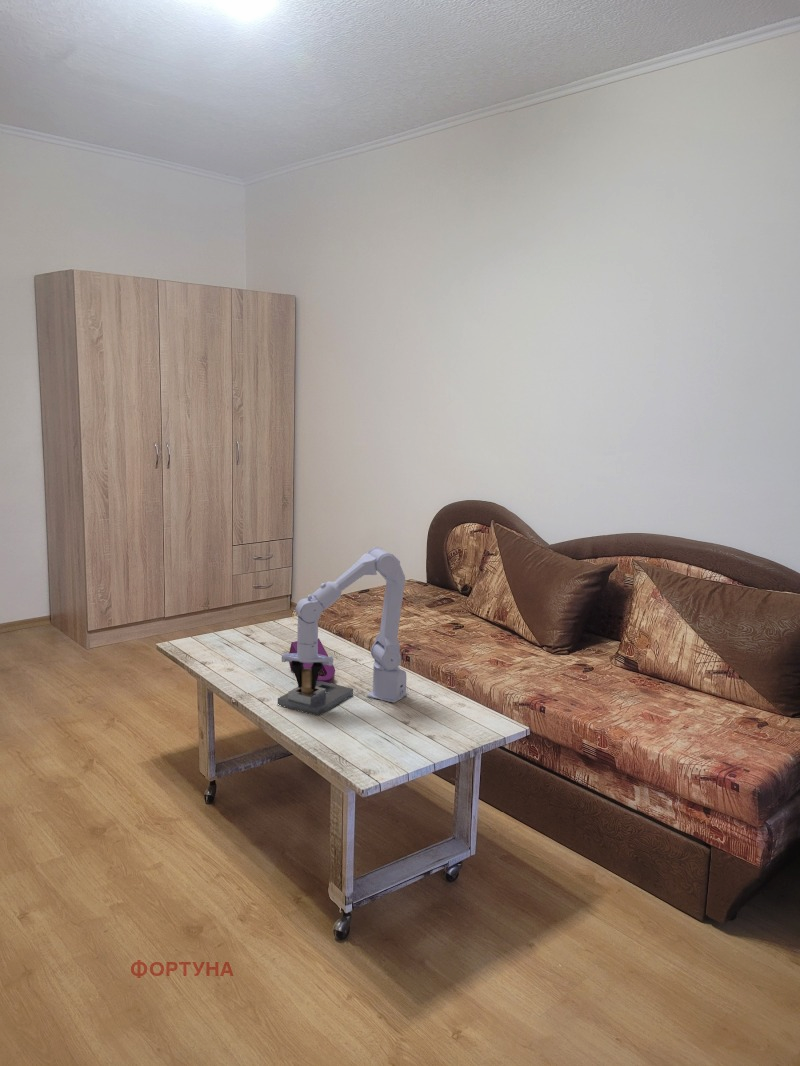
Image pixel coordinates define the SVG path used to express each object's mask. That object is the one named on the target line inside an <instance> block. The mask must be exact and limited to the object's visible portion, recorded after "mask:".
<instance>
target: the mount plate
mask: <svg viewBox="0 0 800 1066" xmlns="http://www.w3.org/2000/svg"><path fill="white" fill-rule="evenodd" d="M352 696H354V688H352V687H348V686H343V685H339V684H335V683H332V682H330V683H327V682H323V681H319V680H317V682H316V687H315V689H313V693H311V694H310V695H309V694H305V693H301V688H298V686H296V687H295V688H293V689H290V690H289V691H288V692H287V693H285V694H284V695H281V696H279V697H278V698H277V705H278V704H279V705H281V706H280V707H283V706H285V707H284V708H287V707H288V708H287V709H290V708H292V709H291V710H294V709H296V710H295V711H298V710H299V711H298V712H302V711H303V712H302V713H305V712H307V713H306V714H309V713H310V714H311V715H313V714H314V715H313V716H321V715H323V714H325V713H326V712H327V711H330V710H331V709H332V708H334V707H336V706H337V705H339V704H340V703H342V702H344V701H346V700H347V699H349V698H351V697H352ZM279 705H278V706H279ZM322 713H323V714H322Z"/></svg>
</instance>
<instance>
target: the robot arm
mask: <svg viewBox="0 0 800 1066" xmlns="http://www.w3.org/2000/svg"><path fill="white" fill-rule="evenodd" d="M377 572H378V573H379V574H380V575H381V577H382V578H384V580H385V591H384V598H383V604H382V613H381V618H380V619H381V620H380V628H379V633H378V634H377V635H375V640H374V643H373V644H372V646H371V649H370V655H371V657H372V658H373V661H374V662H373V671H372V673H373V675H372V691H371V692H369V693H367V694H366V696H367V697H369V698H373V699H377V700H380V701H381V700H382V701H386V702H389V703H397V702H398V701H400V700H402V699H403V698H404V697H405V696H407V695H408V692H407V672H406V671H405V670H404V669H401V668H400V665H401V663H402V653H401V644H400V640H399V637H398V635H399V634H398V633H399V628H400V627H399V626H400V619H401V613H402V604H403V597H404V592H405V591H404V590H405V584H406V583H405V582H406V576H405V573H404V571H403V568H402V566H401V561H400V560H399V559H398V558H397V557H396V556H395V555H394V554H392V553H391V552H388V551H386V550H385V549H383V548H382V547H379V546H375V547H373V548H372V547H371V549H369V551H368V552H365V553H364V554H362V555H361V557H360V558H359V559H358V560H357V561H356V562H355V563H353V565H351V566H350V567H349V568H347V570H346V571H345V572H343V574H341V575H340V576H339V577H338V578H337V579H335V580H334V581H329V580H328V581H326V582H322V583H320V584H319V585H320V587H319V588H317V590H315V591H313V593H311V594H310V593H309V594H307V597H305V598H301V599H299V601H297V603H296V606H295V607H294V612H295V614H296V615H297V635H296V636H297V637H296V639H297V653H289V652H286V653H283V654H281V662H282V663H286V662H292V665H291V668H290V670H291V669H292V670H293V672H294V673H293V672H292V673H293V674H294V676H295V678H296V682H297V687H298V688H301V670H302V669H303V663H313V665H312V667H311V670H312V689H315V687H316V682H317V678H318V675H319V676H320V673H321V671H322V669H321V668H322V666H323V664H327V665H329V666H332V665H333V666H334V656H329V655H328V656H324V655H319V654H318V638H319V624H318V623H319V620H320V618H321V616H322V613H323V612H324V611H325V610H326V609H328V608H329V607H330V606H331V605H332V604H334V603H336V601H338V600H339V599H340V598H341V597H342V596H341V595H342V592H343V591H344V590H345V589H347V588H348V587H349V586H350V585H352V584H354V583H355V582H356V581H358V580H359V579H361V578H362V577H363V576H376V575H378V573H377ZM292 670H291V671H292Z"/></svg>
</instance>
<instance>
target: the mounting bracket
mask: <svg viewBox="0 0 800 1066" xmlns="http://www.w3.org/2000/svg"><path fill="white" fill-rule="evenodd" d="M289 653H297V641H291V643H290V648H289V652H288V654H289ZM318 654H319V655H324V656H329V654H328V653H327V651H326V649H325V647H324V645H323V643H322V641H321V640H320V638H319V637H318ZM291 665H292V662H289V668H290V670H291V672H292V673H293V674H294V672H293V670H292V669H291ZM312 665H313V663H303V669H304V668H311V667H312ZM321 671H322V673H323V676H321V675H320V674H319V675H318V678H317V680H319V681H323V682H327V683H332V682H333V680H334V679H335V678H334V677H335V674H336V668H335V666H334V664H333V665H332V666H329V665H327V664H323V666H322V668H321Z"/></svg>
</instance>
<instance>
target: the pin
mask: <svg viewBox="0 0 800 1066" xmlns="http://www.w3.org/2000/svg"><path fill="white" fill-rule="evenodd" d="M301 693H305V694H309V695H310V694H311V693H313V689H312V670H311V668H304V669H302V670H301Z"/></svg>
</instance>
